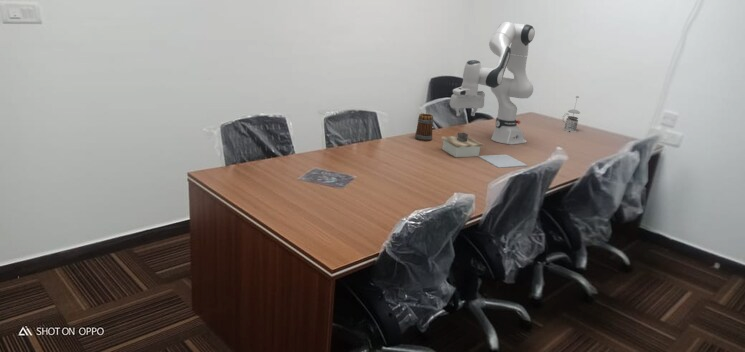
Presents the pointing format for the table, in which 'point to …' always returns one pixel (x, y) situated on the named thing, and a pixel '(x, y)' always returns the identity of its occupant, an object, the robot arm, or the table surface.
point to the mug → (424, 127)
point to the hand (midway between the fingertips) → (465, 115)
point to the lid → (462, 141)
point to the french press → (571, 120)
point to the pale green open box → (460, 150)
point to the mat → (502, 161)
